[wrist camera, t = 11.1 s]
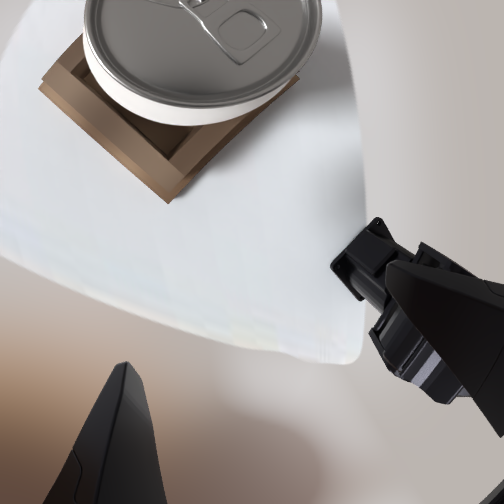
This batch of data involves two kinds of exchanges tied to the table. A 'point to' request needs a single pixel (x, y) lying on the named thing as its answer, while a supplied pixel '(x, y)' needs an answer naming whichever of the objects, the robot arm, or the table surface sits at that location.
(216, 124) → the socket
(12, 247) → the table surface
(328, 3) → the table surface
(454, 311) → the robot arm
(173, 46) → the can
